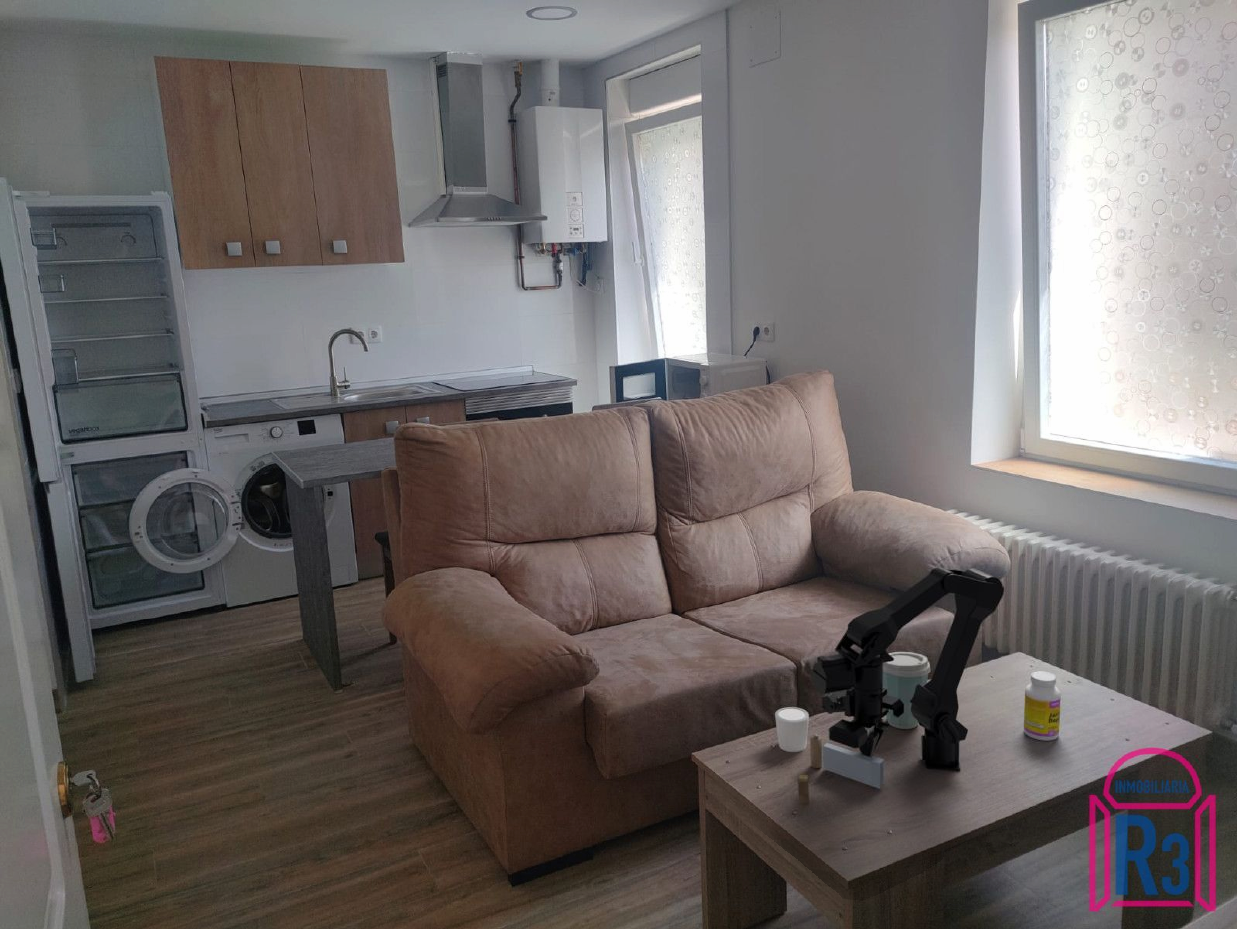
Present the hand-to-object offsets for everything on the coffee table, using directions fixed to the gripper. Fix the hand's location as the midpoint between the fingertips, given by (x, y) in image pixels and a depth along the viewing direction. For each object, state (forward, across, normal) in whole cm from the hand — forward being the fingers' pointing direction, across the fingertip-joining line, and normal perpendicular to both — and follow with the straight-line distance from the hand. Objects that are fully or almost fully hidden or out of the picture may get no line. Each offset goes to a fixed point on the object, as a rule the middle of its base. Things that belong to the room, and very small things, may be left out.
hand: (867, 760), depth 177 cm
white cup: (+4, -2, -18) cm, 19 cm away
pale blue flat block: (+3, +2, -3) cm, 5 cm away
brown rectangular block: (+4, +14, -5) cm, 16 cm away
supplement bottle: (+4, -37, +19) cm, 42 cm away
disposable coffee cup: (+4, -25, -5) cm, 26 cm away
